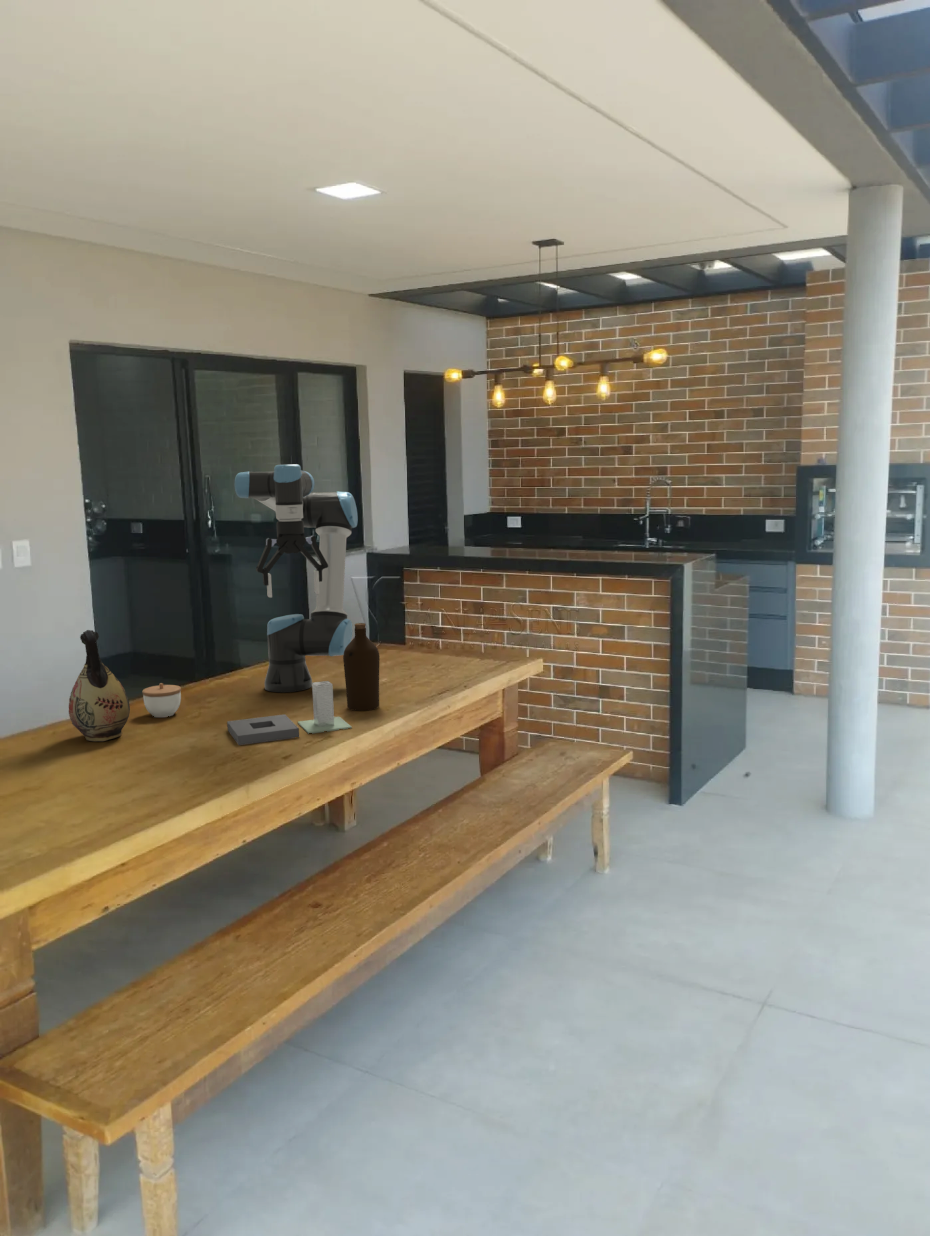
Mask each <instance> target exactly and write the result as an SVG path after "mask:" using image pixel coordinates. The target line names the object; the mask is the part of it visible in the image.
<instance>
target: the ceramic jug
mask: <svg viewBox="0 0 930 1236" xmlns="http://www.w3.org/2000/svg"><path fill="white" fill-rule="evenodd" d="M79 638H80V640H81V643H82V644H84V647H85V653H86V656H85V663H84V665H83V668H82V670H80V673H79V674H78V675H77V676H78V677H77V679H76V681H75V683H74V685H73V687H72V689H71V692H70V696H69V699H68V716H69V720H70V721H71V724H72V725H73V727H74V728H76V729H77V730H78V731H79V732H80V733H81V734H82V736H84V737H85V740H86V741H90V742H106V741H108V740H112V739H116V738H118V737H121V736H122V734H123V733H122V730H123V728H124V727H125V726H126V723H127V722H128V720H129V717H130V713H131V707H130V706H131V705H130V700H129V697H128V695H127V692H126V690H125V687H123V685H122V683H121V681H119V679H118V678H117V677H116V676H115V674H114V673H113V672H112V671H111V670H110V669H109V668H108V666H106V665H105V664H104V663H103V661H102V659H101V657H100V653H99V647H98V643H97V642H98V640H99V638H100V635H99V632H97V631H94V630H91V629H87V630H86V631H83V633H82V634H80V635H79Z"/></svg>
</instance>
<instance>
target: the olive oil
mask: <svg viewBox="0 0 930 1236" xmlns="http://www.w3.org/2000/svg"><path fill="white" fill-rule="evenodd" d="M342 656H343V657H342V658H343V659H342V662H343V670H344V671H343V672H344V679H345V692H346V705H347V709H349V710H350V711H357V712H359V711H361V712H362V711H365V712H367V711H372V710H375V709H378V708H379V707H380V659H381V658H380V651H379V649H378V647H377V646H376V644H375V643H374V642H372V640H370V638H368V636H367V628H366V623H364V622H357V623H355V624H354V637H352V639H351V642H350V643H349V644H348V645H347V647H346V648H345V650H344V654H343V655H342Z"/></svg>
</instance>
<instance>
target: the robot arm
mask: <svg viewBox="0 0 930 1236" xmlns="http://www.w3.org/2000/svg"><path fill="white" fill-rule="evenodd" d="M314 489H315V479H314V477H313V475H312V474H311V473H310V472H308V471H305V470H302V467H301V465H300V464H297V463H296V464H277V465H276V464H275V466H274V468H273V471H249V470H248V471H244V472H243V471H242V472H238V473H237V474H236V475H235V478H234V491H235V494H236V496H237V497H238V498H240V499H254V500H256V501H258V502H259V503H261V504H263V505H264V506H266V507H267V508H269V509H271V510H272V511H274V513H275V517H276V520H278V521H277V522H276V538H269V537H267V538H266V539H265V546H264V548H263V552H262V554H261V555H260V558H259V560H258V562H257V564H256V567H255V571H256V572H257V573H260V574H262V583H263V585H264V586H266V590H267V591H266V592H267V597H268V598H273V590H272V589H273V588H272V586H273V585H272V574H271V573H269V572H270V571H271V570H272V569H273V567H274V566H275V565H276V564H277V562H278V560H280V558H281V556H283V554H292V553H293V554H299V553H301V554H302V556H304V558H306V560H307V561H308V562H309V563H310V564H311V565H312V566H313V567H314V568H315V569H316V570H314V569H313V583H314V584H313V589H314V593H315V594H316V601H315V602H316V604H315V609H314V610H312V611H311V612H310V619H309V618H305V617H304V615H303V614H301V613H300V614H299V613H295V614H287V615H283V616H278V617H274V618H272V619H270V620H269V621H268V622H267V627H266V629H267V630H266V631H267V632H266V637H267V638H266V639H267V649H268V650H267V653H268V667H267V672H266V675H265V677H264V678H265V679H264V689H265V691H268V692H271V693H272V692H273V693H292V692H293V693H294V692H300V691H305V690H308V689H311V688H312V683H313V678H312V676H311V673H310V670H309V668H308V665H307V662H306V660H307V659H306V656H309V657H311V656H312V657H313V656H314V657H315V656H316V657H318V656H322V657H323V656H327V657H335V656H343V654H344V650H345V648H346V647H347V645H348V644H349V643H350V642H351V641H352V640H353V622H352V620H351V619H349V618H348V613H347V612H346V611H345V610H344V593H345V591H344V590H345V577H346V576H345V574H346V573H345V572H346V571H345V570H346V557H347V556H346V555H347V554H346V553H347V552H346V551H347V538H348V537H350V536H351V535H352V529H354V528H357V526H358V522H359V521H358V519H359V518H358V515H359V514H358V509H357V505H356V500H355V498H354V496H353V494H352V493H350V492H348V491H314ZM305 528H310V529H311V528H314V529H315V533H316V534H317V535H318V536H319V545H318V544H317V538H316V536H314V535H310V536H305ZM306 543H307V544H308V545H310V546H311V549H312V550H313V552H314V555H315V556H316V558H317V559H318V561H317V560H316V559H315V558H314V557H313V556H312V554H310V553H309V551H308V550H307V549H306V548H305V547H304V546H305V545H306ZM275 544H276V545H277V546H278V548H277V550H276V552H275V553H274V554H273V555H272V557H271V559H269V561H267V560H268V557H269V555H270V553H271V550H272V547H274V546H275ZM266 561H267V564H266ZM265 564H266V565H265Z"/></svg>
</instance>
